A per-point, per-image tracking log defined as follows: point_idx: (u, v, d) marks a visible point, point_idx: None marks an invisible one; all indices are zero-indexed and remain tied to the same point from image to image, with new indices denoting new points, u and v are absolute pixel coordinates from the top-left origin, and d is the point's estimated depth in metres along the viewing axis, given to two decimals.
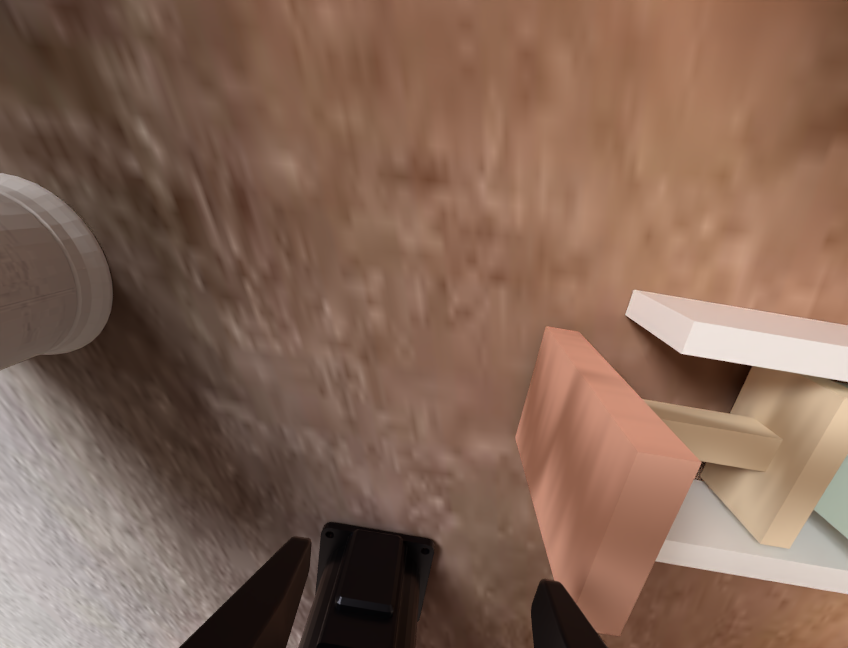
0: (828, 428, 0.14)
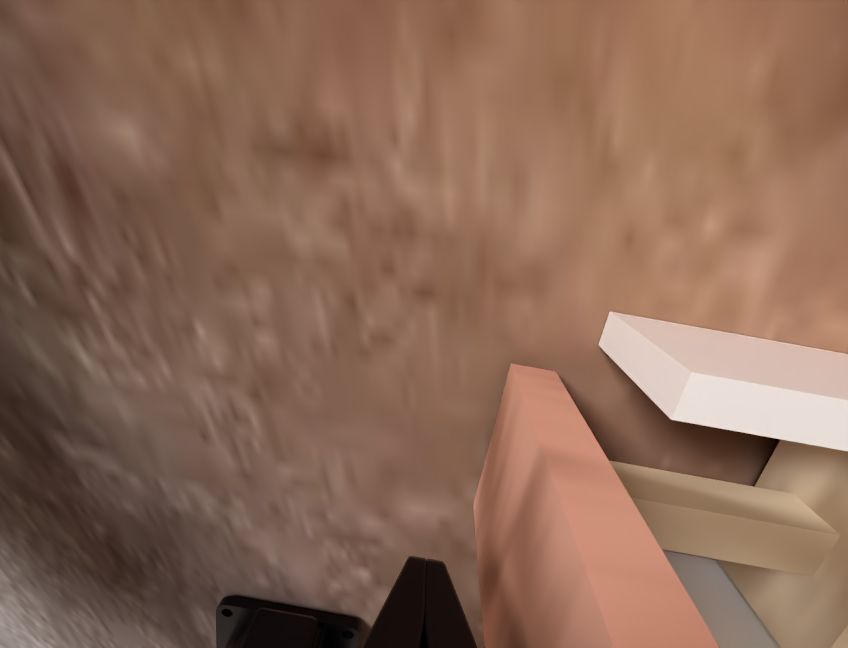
0: None
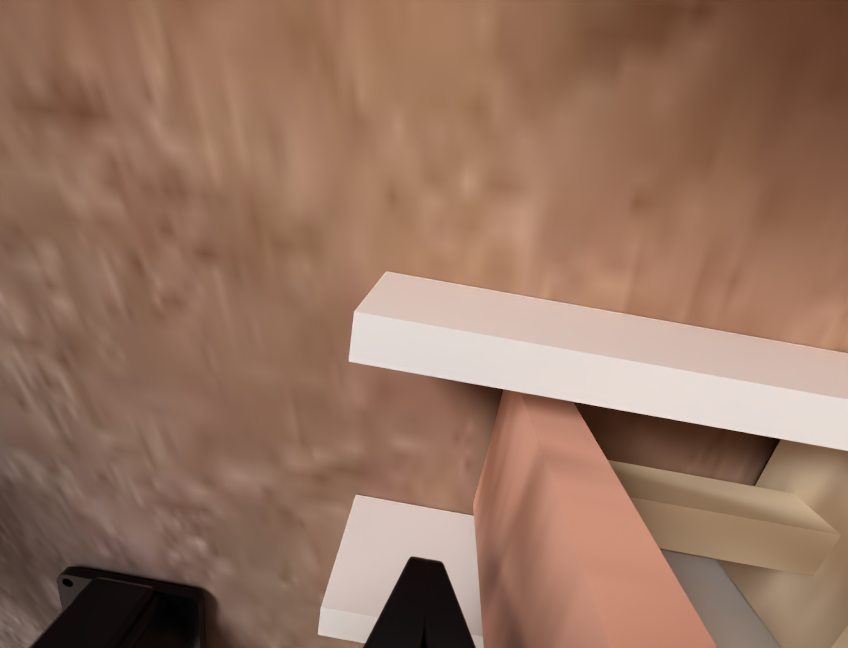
0: None
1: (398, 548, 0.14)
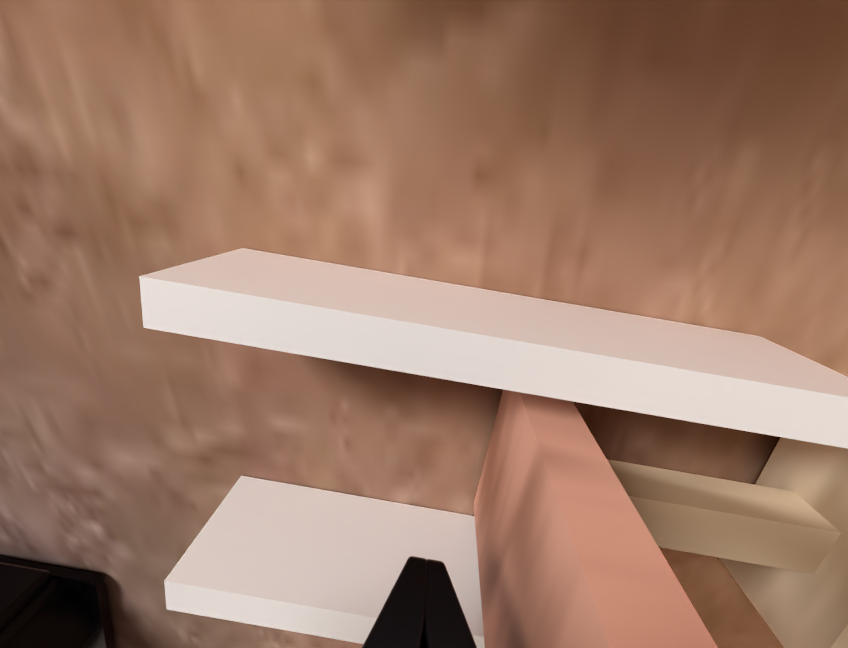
0: None
1: (267, 526, 0.14)
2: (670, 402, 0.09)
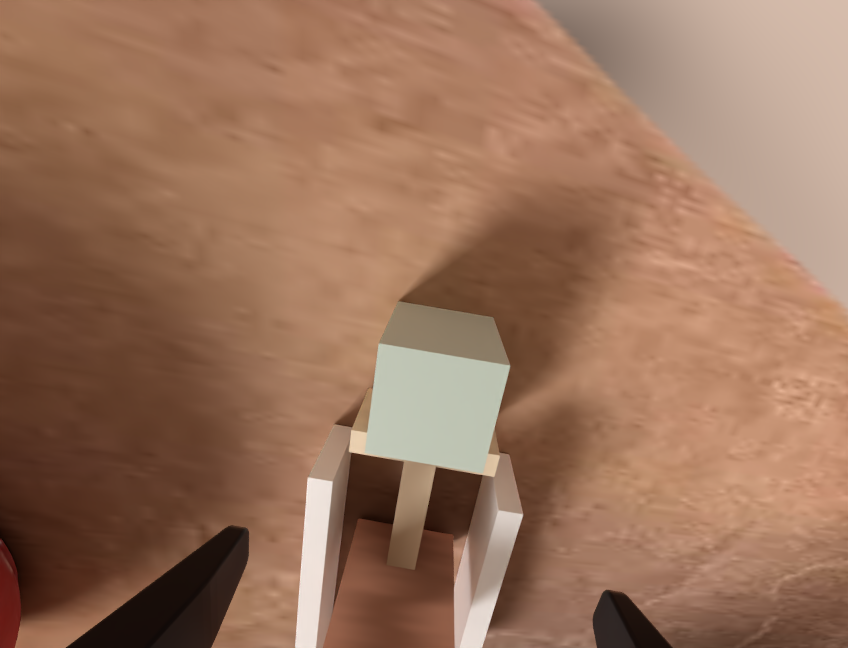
0: (375, 455, 0.18)
1: None
2: (317, 558, 0.20)
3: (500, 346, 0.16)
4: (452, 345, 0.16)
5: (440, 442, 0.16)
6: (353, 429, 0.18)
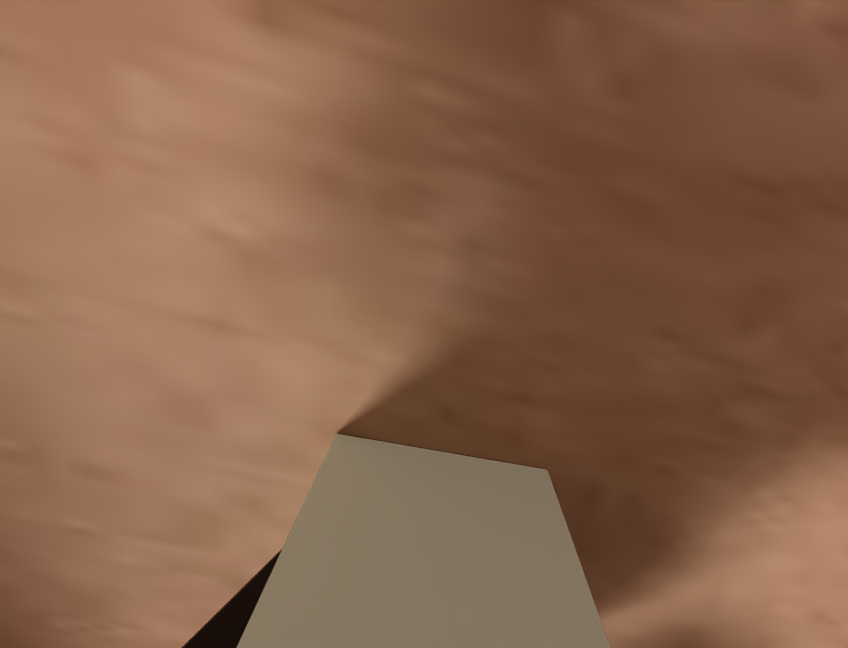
0: None
1: None
2: None
3: None
4: None
5: None
6: None
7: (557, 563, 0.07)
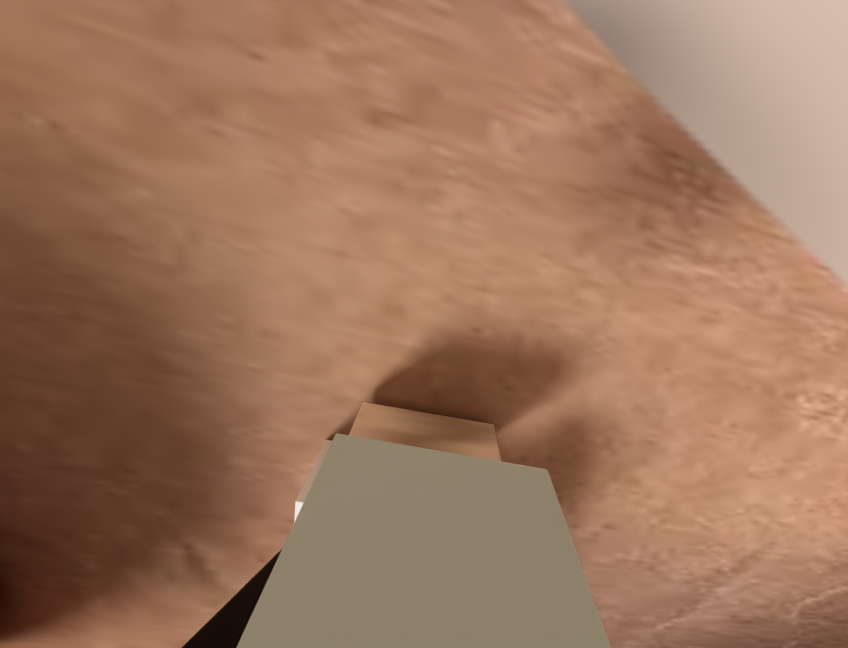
0: None
1: None
2: None
3: None
4: None
5: None
6: None
7: (557, 562, 0.07)
